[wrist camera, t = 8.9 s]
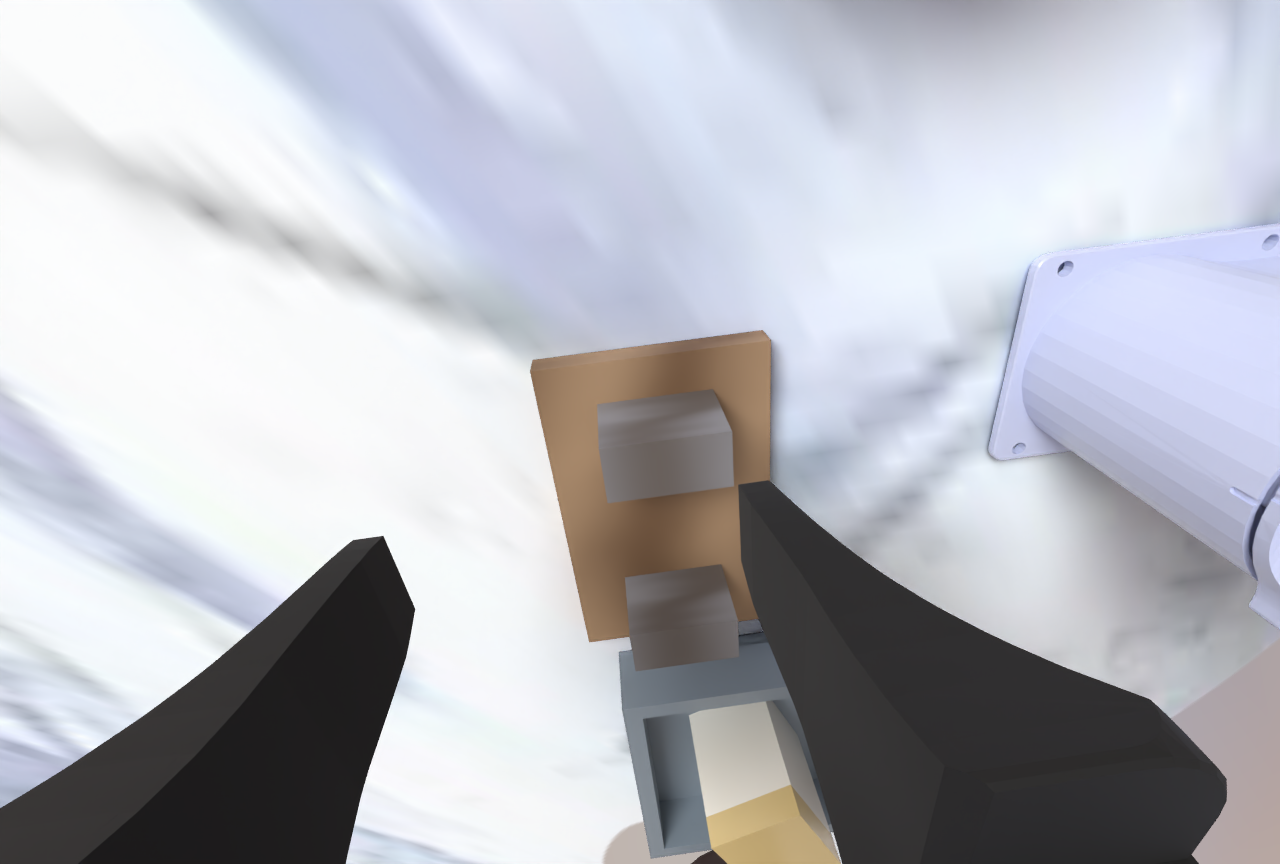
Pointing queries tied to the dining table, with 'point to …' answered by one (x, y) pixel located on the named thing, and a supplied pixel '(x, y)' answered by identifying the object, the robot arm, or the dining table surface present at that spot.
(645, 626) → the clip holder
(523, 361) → the dining table surface
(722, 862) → the bottle
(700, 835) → the tray
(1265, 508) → the robot arm
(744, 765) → the white and tan block
